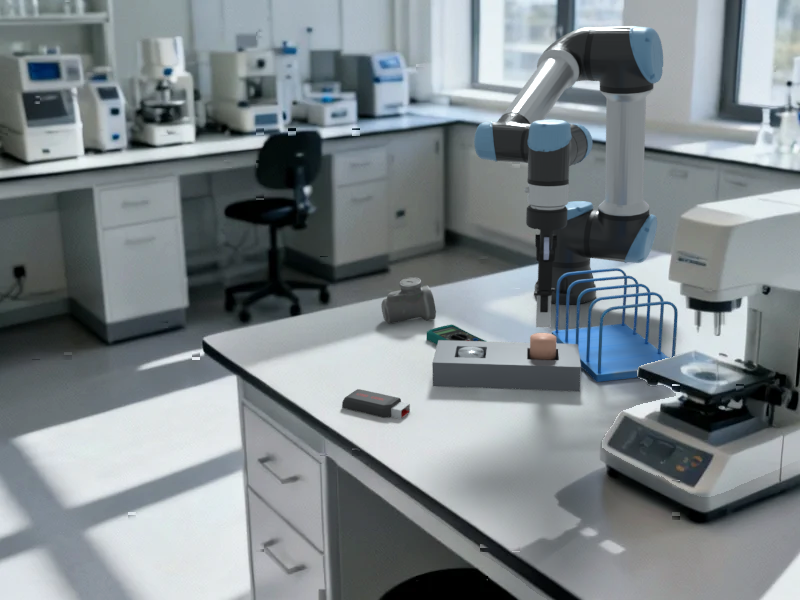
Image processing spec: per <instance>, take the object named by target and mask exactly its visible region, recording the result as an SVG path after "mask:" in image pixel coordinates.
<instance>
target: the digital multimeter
mask: <svg viewBox="0 0 800 600" xmlns="http://www.w3.org/2000/svg"><path fill="white" fill-rule="evenodd" d="M426 340H427V341H429V342H430V343H432V344H435V345H436V346H437V344H438V340H450V341H486V342H488V341H487V340H484V339H483V338H480V337H478V336H476V335H474V334H473V333H470V332H468V331H466V330H464V329H462V328H460V327H459V326H457V325H456V324H446V325H442V326H437V327H434V328H431V329H429V330H428V331H426Z"/></svg>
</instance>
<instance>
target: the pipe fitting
mask: <svg viewBox="0 0 800 600" xmlns="http://www.w3.org/2000/svg"><path fill="white" fill-rule="evenodd" d="M399 288H400V289H399V290H394V291H390V292H389V293H388V294H387V297H386V298H384V299H383V300H382V302H381V312H382V318H383V319H384V321H385V323H387V324H388V325H391V324H396V323H400V322H405V321H409V320H415V319H419V318H420V319H422V320H424V321H433V320H436V318H437V316H436V315H437V310H436V304H435V299H434V294H433V292H432V289H431V287H430V286H429V285H423V286H422V280H421V278H419V277H412V276H411V277H410V276H409V277H406V278H403V279H401V280H400V281H399Z"/></svg>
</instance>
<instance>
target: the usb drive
mask: <svg viewBox="0 0 800 600" xmlns="http://www.w3.org/2000/svg"><path fill="white" fill-rule="evenodd" d="M401 399H402V398H400V397H396V396H392V395H389V394H388V395H387V394H384V393H378V392H374V391H369V390H365V389H358V388H357V389H355V390H353V392H351V393H349V394H348V395H347V396H345V397H344V398H343V400H342V404H341V408H342V409H345V410H349V411H353V412H358V413H362V414H365V415H366V414H367V415H369V416H370V415H371V416H375V417H379V418H388V419H389V418H395V419H398V420H401V419H403V418H404V417H406V416H407V415H409V414H410V413H411V405H410V403H409V402H408V403H407V402H402V400H401Z"/></svg>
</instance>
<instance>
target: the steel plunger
mask: <svg viewBox="0 0 800 600" xmlns="http://www.w3.org/2000/svg"><path fill="white" fill-rule="evenodd" d="M458 357H464V358H484V351H483V349H481V348H478V347H463V348H461V349H459V350H458Z"/></svg>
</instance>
